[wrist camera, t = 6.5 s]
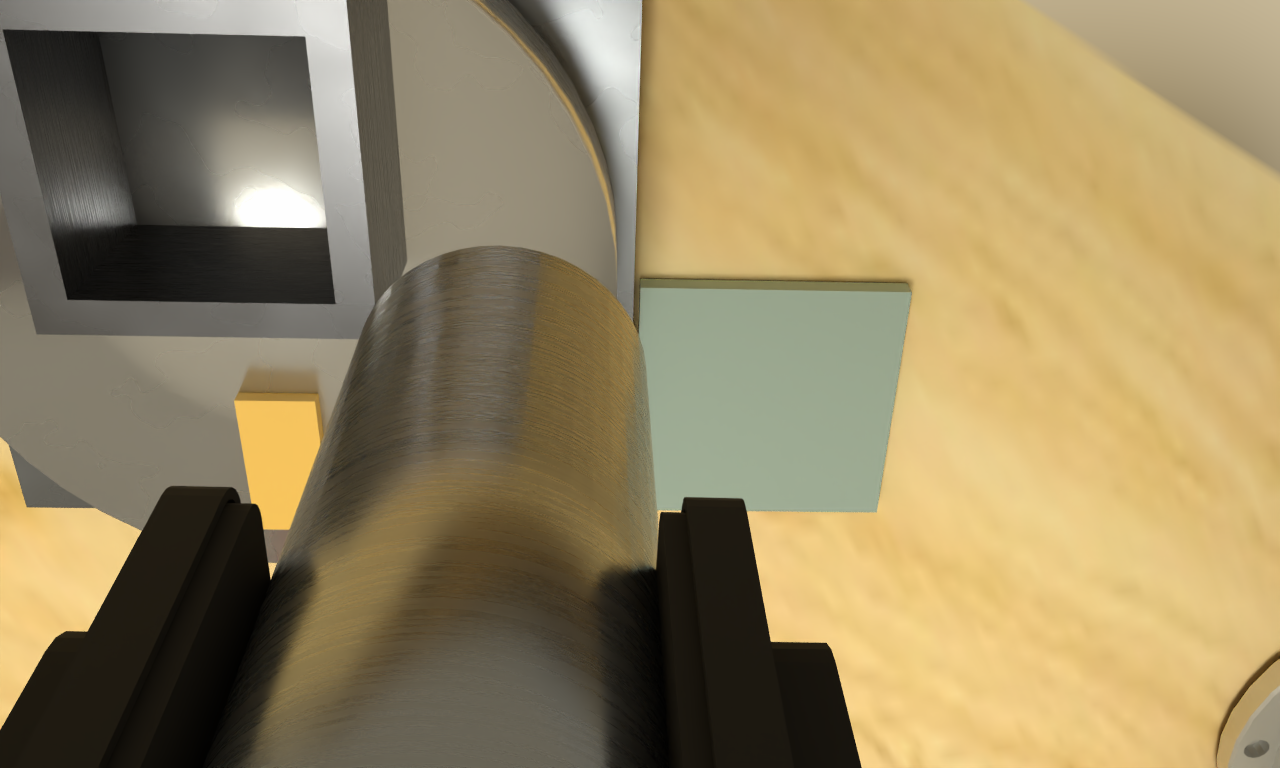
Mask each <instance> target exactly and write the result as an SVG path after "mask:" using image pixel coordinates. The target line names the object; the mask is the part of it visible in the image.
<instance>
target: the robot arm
mask: <svg viewBox="0 0 1280 768" xmlns="http://www.w3.org/2000/svg"><path fill="white" fill-rule="evenodd" d="M270 581H271V580H270V573H269V566H268V558H267V551H266V544H265V537H264V530H263V523H262V516H261V512H260V509H259V507H258V505H257V504H252V503H241V501H240V497H239V494H238V492H237V490H236V489H234V488H233V487H208V486H170V487H168V488H166V489H165V491H164V492H163V493H162V495H161V497H160V498H159V500H158V502H157V504H156V506H155V508H154V510H153V511H152V513H151V515H150V517H149V519H148V521H147V523H146V524H145V526H144V528H143V530H142V532H141V534H140V536H139V537H138V539H137V541H136V543H135V545H134V547H133V549H132V550H131V552H130V554H129V556H128V558H127V560H126V561H125V563H124V565H123V567H122V569H121V571H120V573H119V574H118V576H117V578H116V580H115V582H114V584H113V586H112V587H111V589H110V591H109V593H108V595H107V597H106V599H105V600H104V602H103V604H102V606H101V608H100V610H99V612H98V613H97V615H96V617H95V619H94V621H93V623H92V624H91V626H90V628H89V630H88V632H78V631H66V632H64V633H62V634H61V635H59V636H58V637H56V638H55V639H54V640H53V642H52V643H51V645H50V646H49V647H48V649H47V650H46V651H45V653H44V655H43V656H42V658H41V660H40V662H39V663H38V665H37V667H36V669H35V670H34V672H33V674H32V676H31V677H30V679H29V681H28V683H27V684H26V686H25V688H24V690H23V691H22V693H21V695H20V697H19V698H18V700H17V702H16V704H15V705H14V707H13V709H12V711H11V712H10V714H9V716H8V718H7V719H6V721H5V723H4V725H3V726H2V728H1V730H0V768H203V765H204V762H205V759H206V757H207V754H208V751H209V748H210V746H211V743H212V740H213V737H214V735H215V732H216V729H217V727H218V724H219V721H220V718H221V716H222V713H223V710H224V707H225V705H226V702H227V699H228V696H229V694H230V691H231V688H232V685H233V683H234V680H235V677H236V675H237V672H238V669H239V666H240V664H241V661H242V658H243V655H244V653H245V650H246V647H247V644H248V642H249V639H250V636H251V633H252V631H253V628H254V625H255V622H256V620H257V617H258V614H259V612H260V609H261V606H262V603H263V601H264V598H265V595H266V592H267V590H268V587H269V584H270ZM656 581H657V595H658V610H659V624H660V639H661V653H662V668H663V683H664V697H665V712H666V726H667V741H668V755H669V768H862V767H861V763H860V759H859V755H858V751H857V747H856V743H855V739H854V735H853V731H852V727H851V723H850V719H849V715H848V711H847V707H846V703H845V699H844V695H843V691H842V687H841V682H840V678H839V674H838V670H837V666H836V662H835V659H834V656H833V653H832V650H831V648H830V647H829V646H828V644H827V643H798V642H771V641H770V635H769V630H768V624H767V619H766V613H765V608H764V603H763V597H762V592H761V586H760V581H759V576H758V570H757V565H756V559H755V554H754V548H753V543H752V538H751V532H750V527H749V521H748V516H747V510H746V506H745V502H744V500H743V499H742V498H707V497H684V499H683V503H682V510H681V513H676V512H661V514H660V521H659V533H658V546H657V560H656ZM1217 768H1280V659H1278V660H1277V661H1276V662H1274V663H1273V664H1272V665H1271V666H1270V667H1269V668H1268V669H1267V670H1266V671H1265V672H1264V673H1263V674H1262V675H1261V676H1260V677H1259V678H1258V679H1257V680H1256V681H1255V682H1254V683H1253V684H1252V685H1251V686H1250V687H1249V688H1248V690H1247V691H1246V693H1245V694H1244V695H1243V697H1242V698H1241V700H1240V701H1239V702H1238V704H1237V705H1236V706H1235V708H1234V709H1233V711H1232V712H1231V714H1230V717H1229V719H1228V721H1227V723H1226V726H1225V728H1224V730H1223V732H1222V734H1221V738H1220V743H1219V748H1218V754H1217Z"/></svg>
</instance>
